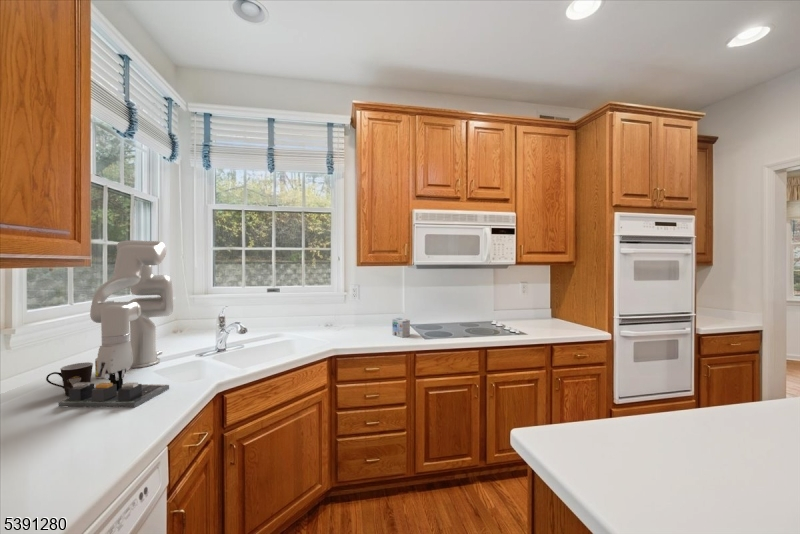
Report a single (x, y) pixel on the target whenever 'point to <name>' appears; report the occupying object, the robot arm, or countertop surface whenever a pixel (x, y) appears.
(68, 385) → the coffee mug
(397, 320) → the light bulb box
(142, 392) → the panel
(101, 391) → the block
